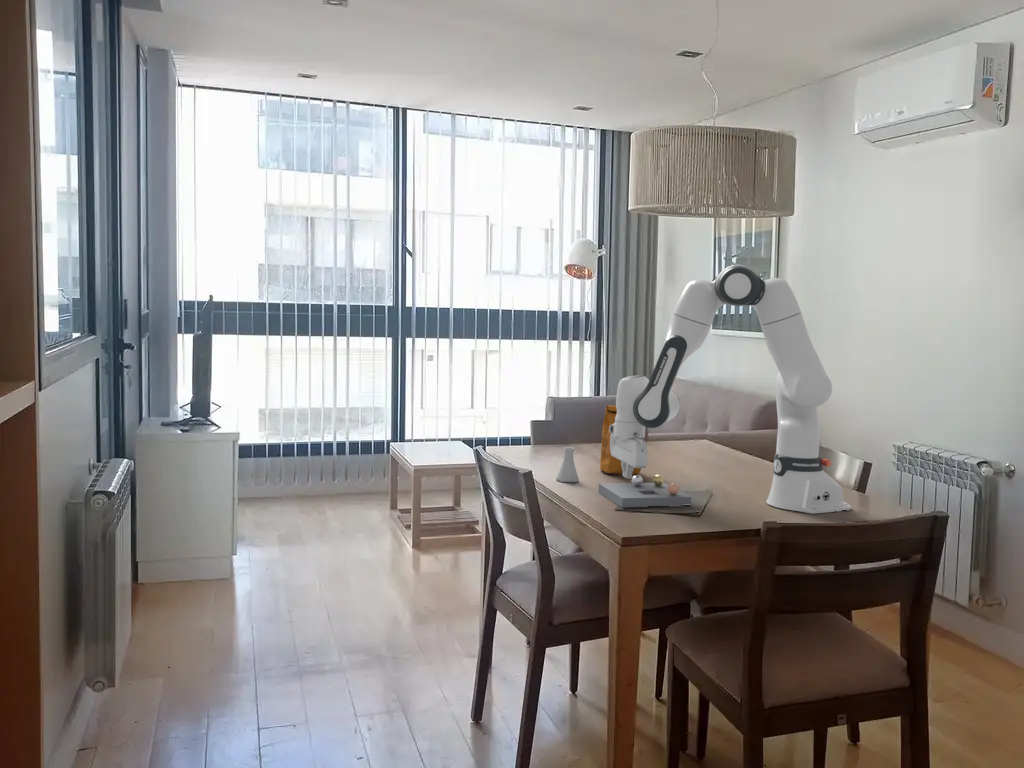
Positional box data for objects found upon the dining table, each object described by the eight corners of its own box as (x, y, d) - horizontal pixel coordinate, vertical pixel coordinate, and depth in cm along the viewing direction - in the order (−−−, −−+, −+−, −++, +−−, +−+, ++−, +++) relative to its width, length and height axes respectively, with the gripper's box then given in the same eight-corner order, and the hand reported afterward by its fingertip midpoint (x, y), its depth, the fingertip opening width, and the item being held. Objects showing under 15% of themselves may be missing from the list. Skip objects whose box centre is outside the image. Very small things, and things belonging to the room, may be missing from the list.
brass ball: (660, 484, 239) (661, 473, 238) (665, 487, 236) (666, 475, 235) (650, 484, 238) (651, 473, 238) (655, 487, 235) (655, 476, 234)
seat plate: (662, 491, 242) (663, 482, 241) (690, 506, 224) (691, 496, 224) (598, 492, 237) (598, 483, 236) (621, 507, 219) (622, 498, 219)
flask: (559, 483, 247) (561, 450, 246) (552, 478, 254) (554, 446, 253) (582, 483, 249) (584, 450, 248) (574, 478, 256) (576, 445, 255)
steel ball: (639, 484, 237) (640, 473, 237) (644, 487, 234) (644, 476, 234) (629, 485, 236) (630, 473, 236) (633, 487, 233) (634, 476, 233)
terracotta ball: (675, 493, 228) (676, 481, 228) (681, 495, 225) (681, 484, 225) (665, 493, 227) (665, 481, 227) (670, 496, 224) (670, 484, 224)
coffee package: (643, 476, 262) (647, 407, 260) (604, 476, 260) (608, 406, 258) (634, 470, 272) (638, 403, 270) (597, 469, 270) (601, 402, 268)
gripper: (654, 436, 232) (651, 485, 233) (626, 425, 251) (624, 470, 253) (633, 436, 230) (630, 485, 231) (607, 425, 250) (604, 470, 251)
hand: (627, 477), depth 242 cm, fingers closed
